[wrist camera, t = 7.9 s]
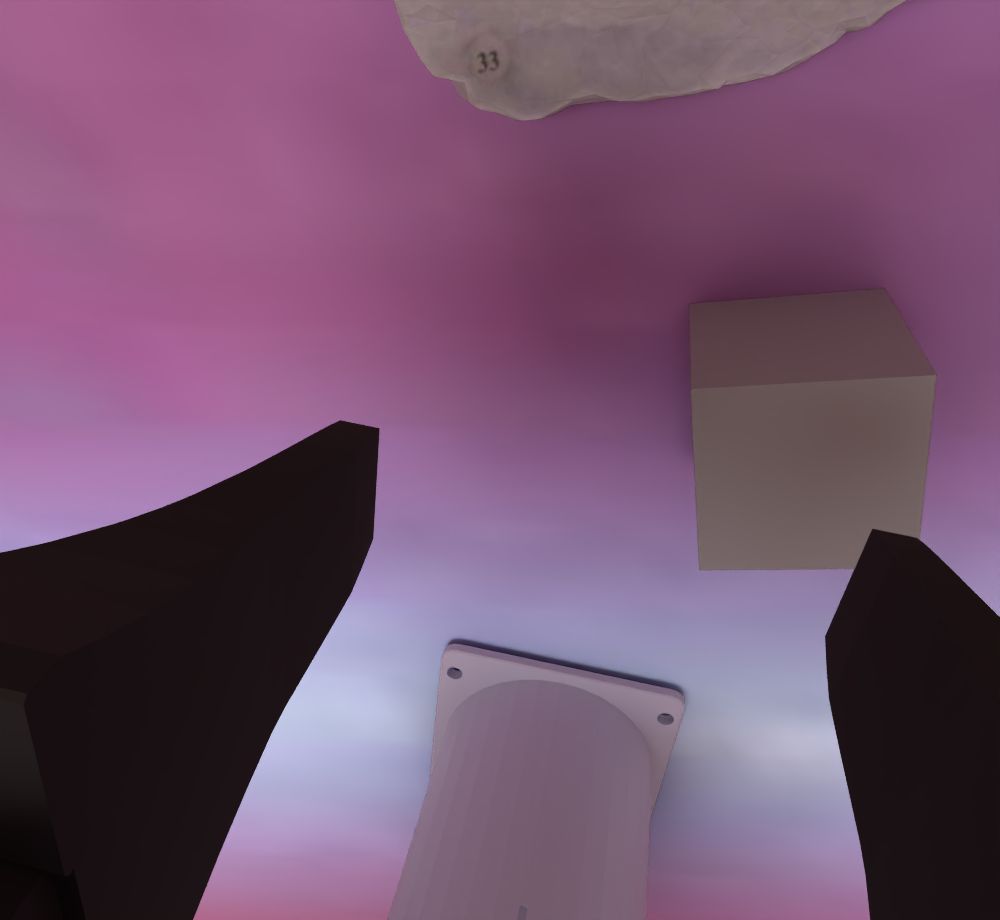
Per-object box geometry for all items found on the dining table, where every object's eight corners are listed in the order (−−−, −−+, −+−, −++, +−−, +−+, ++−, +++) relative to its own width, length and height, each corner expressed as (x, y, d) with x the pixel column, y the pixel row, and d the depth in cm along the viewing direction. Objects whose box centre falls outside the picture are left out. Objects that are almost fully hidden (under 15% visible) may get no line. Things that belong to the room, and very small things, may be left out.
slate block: (872, 452, 22) (916, 568, 18) (696, 459, 23) (699, 570, 19) (883, 287, 20) (936, 375, 16) (689, 303, 21) (690, 389, 17)
